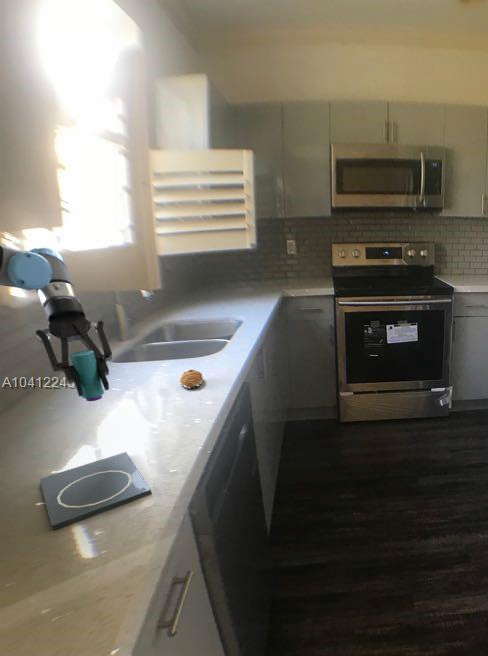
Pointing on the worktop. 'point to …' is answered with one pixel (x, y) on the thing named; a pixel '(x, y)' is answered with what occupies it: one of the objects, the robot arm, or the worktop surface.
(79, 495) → the slate board
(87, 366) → the dot marker
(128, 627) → the worktop surface
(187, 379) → the pastry
